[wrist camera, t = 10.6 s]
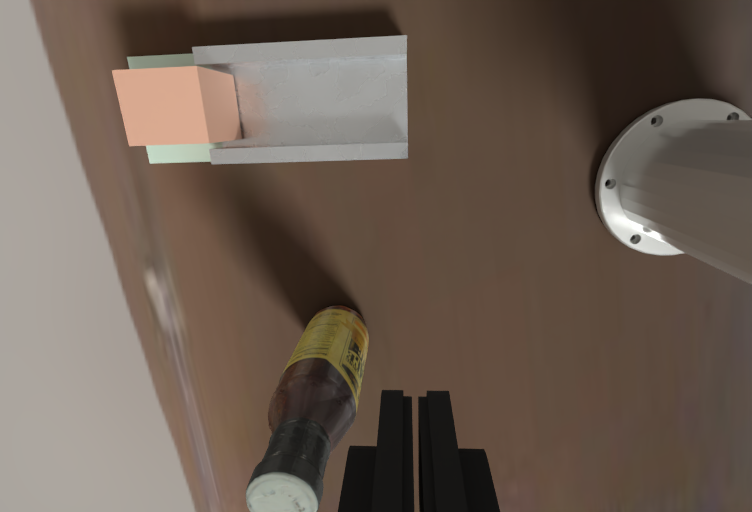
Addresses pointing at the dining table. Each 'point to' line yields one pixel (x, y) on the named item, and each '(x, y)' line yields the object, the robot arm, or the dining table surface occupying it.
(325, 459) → the sauce bottle
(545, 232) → the dining table surface
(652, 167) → the robot arm
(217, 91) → the block
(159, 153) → the pad
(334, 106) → the chute
